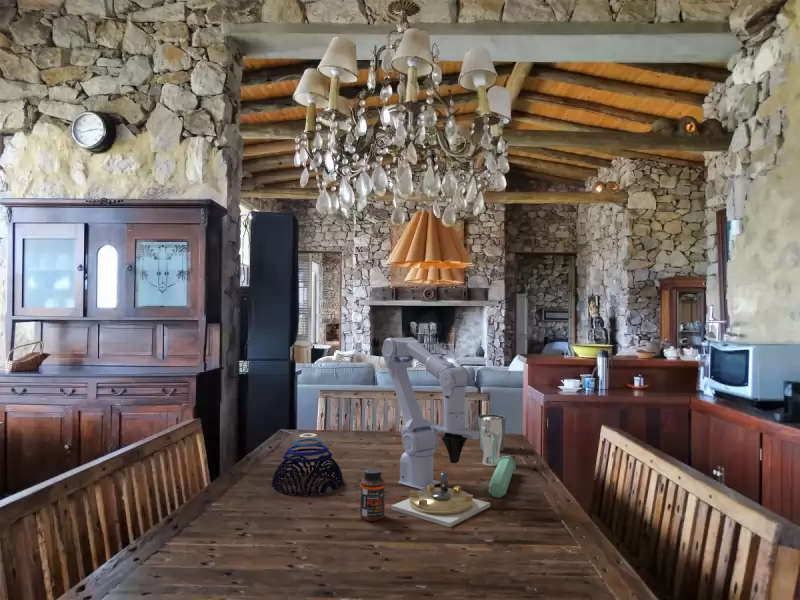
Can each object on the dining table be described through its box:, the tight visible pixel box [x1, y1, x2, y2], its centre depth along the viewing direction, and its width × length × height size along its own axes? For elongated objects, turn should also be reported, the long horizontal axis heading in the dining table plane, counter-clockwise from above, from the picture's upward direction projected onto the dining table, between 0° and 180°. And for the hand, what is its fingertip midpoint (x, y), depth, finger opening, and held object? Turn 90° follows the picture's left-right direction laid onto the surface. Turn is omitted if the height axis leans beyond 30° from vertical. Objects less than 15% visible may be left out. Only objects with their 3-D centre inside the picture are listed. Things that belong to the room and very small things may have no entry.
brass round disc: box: [409, 471, 474, 515], centre depth 139 cm, size 16×16×6 cm
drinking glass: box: [477, 413, 507, 452], centre depth 200 cm, size 10×10×12 cm
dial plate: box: [391, 497, 491, 528], centre depth 139 cm, size 18×18×1 cm
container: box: [488, 455, 517, 498], centre depth 158 cm, size 6×6×25 cm
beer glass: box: [481, 416, 502, 467], centre depth 181 cm, size 7×7×15 cm
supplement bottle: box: [359, 468, 386, 522], centre depth 132 cm, size 6×6×11 cm
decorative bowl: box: [271, 433, 344, 496], centre depth 158 cm, size 20×20×14 cm
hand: (454, 462), depth 147 cm, fingers closed
